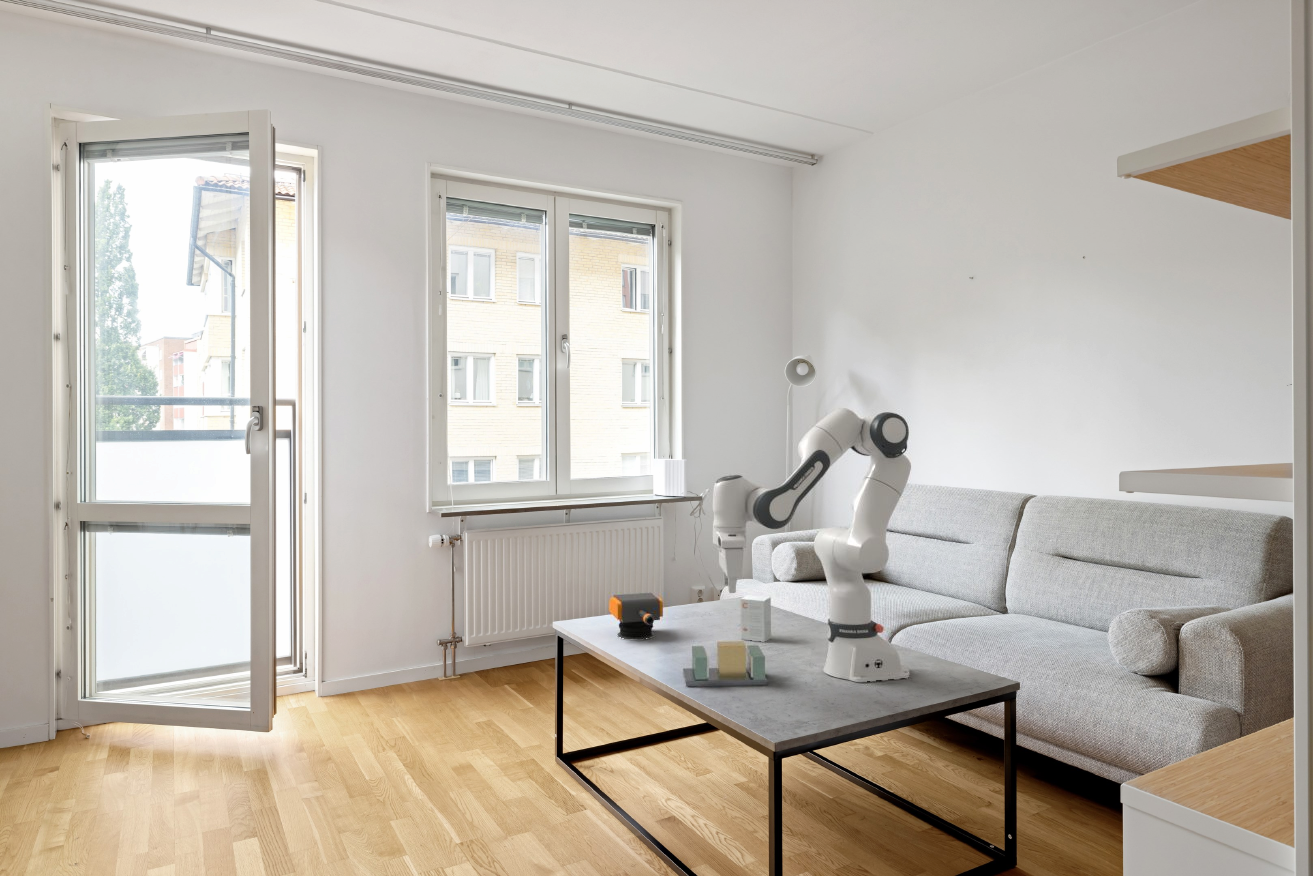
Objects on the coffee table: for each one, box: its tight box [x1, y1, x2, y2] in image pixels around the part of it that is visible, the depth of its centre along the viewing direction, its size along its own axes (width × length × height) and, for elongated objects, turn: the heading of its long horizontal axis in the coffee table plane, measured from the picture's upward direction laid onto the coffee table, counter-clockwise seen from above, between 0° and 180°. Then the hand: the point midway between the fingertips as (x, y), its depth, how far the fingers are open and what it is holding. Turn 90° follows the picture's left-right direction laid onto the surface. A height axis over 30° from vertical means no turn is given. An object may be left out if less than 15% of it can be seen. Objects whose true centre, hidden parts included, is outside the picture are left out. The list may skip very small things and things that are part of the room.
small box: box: [740, 594, 772, 643], centre depth 262 cm, size 8×6×13 cm
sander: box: [608, 592, 664, 640], centre depth 263 cm, size 15×25×13 cm, turn 16°
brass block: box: [716, 640, 747, 677], centre depth 220 cm, size 4×7×8 cm, turn 92°
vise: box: [682, 644, 768, 687], centre depth 220 cm, size 21×11×8 cm, turn 92°
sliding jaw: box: [691, 645, 710, 680], centre depth 220 cm, size 4×11×6 cm, turn 2°
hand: (729, 589), depth 220 cm, fingers open, 8 cm apart
